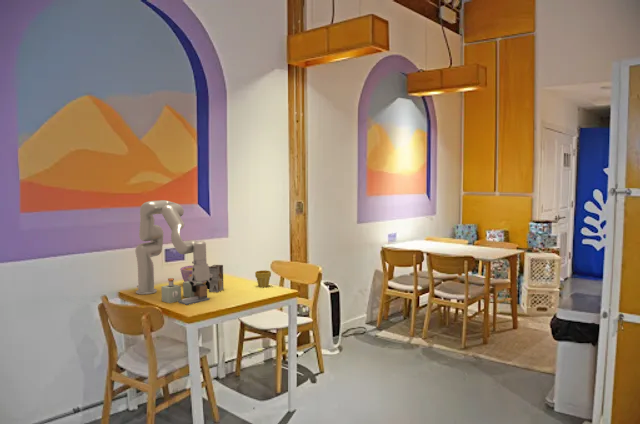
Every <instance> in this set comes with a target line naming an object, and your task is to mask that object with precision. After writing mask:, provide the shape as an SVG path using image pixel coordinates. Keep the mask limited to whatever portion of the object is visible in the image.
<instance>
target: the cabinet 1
mask: <svg viewBox="0 0 640 424" xmlns="http://www.w3.org/2000/svg"><path fill="white" fill-rule="evenodd" d="M160 287H161V301H162V302H164V303H166V304H167V303H168V304H173V303H178V301H180V300H182V285H178V284H174V287H169V284H167V285H163V286H160Z"/></svg>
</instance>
